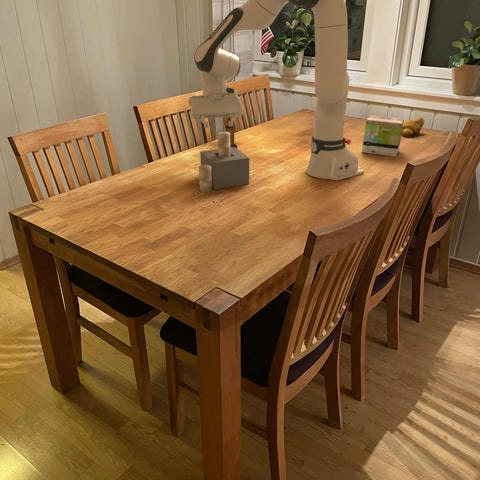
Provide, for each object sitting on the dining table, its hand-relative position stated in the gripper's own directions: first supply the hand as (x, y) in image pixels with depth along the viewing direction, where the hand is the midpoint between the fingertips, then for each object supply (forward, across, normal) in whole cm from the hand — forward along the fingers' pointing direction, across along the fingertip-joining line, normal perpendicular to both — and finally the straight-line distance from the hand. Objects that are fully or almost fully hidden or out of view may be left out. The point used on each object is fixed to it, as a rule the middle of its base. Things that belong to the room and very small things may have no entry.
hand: (218, 126), depth 180 cm
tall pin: (+21, 0, +4) cm, 21 cm away
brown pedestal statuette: (-3, +8, +28) cm, 30 cm away
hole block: (+21, 0, +4) cm, 21 cm away
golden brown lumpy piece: (-10, +100, +35) cm, 106 cm away
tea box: (+6, +73, +18) cm, 76 cm away
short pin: (+27, -8, -3) cm, 28 cm away
